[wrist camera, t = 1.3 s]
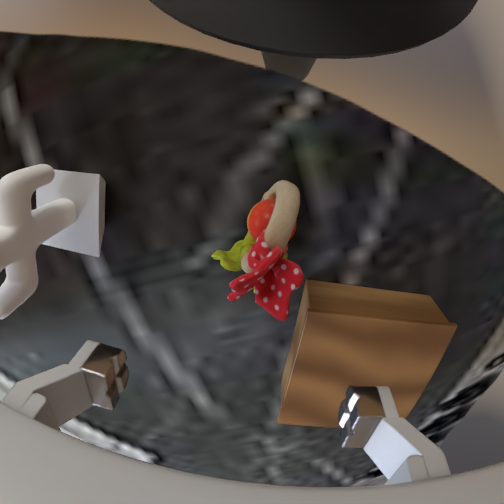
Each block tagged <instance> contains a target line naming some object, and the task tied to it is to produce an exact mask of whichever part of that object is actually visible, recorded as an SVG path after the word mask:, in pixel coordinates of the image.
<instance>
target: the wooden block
mask: <svg viewBox="0 0 504 504" xmlns="http://www.w3.org/2000/svg"><path fill="white" fill-rule="evenodd" d="M456 328H457V325H456V323H449V322H448V320H447V319H446V317H445V316H444V315H443V313H442V312H441V310H440V309H439V308H438V306H437V305H436V303H435V302H434V301H433V299H432V298H431V297H430V295H422V294H414V293H406V292H398V291H390V290H383V289H375V288H368V287H360V286H353V285H345V284H338V283H331V282H323V281H316V280H309V279H306V281H305V286H304V290H303V295H302V299H301V304H300V308H299V312H298V317H297V321H296V325H295V329H294V333H293V338H292V342H291V346H290V350H289V354H288V358H287V362H286V365H285V369H284V373H283V377H282V381H281V408H280V411H279V414H278V418H277V423H281V424H292V425H304V426H319V427H341V426H340V425H339V422H338V412H339V407H340V404H341V402H342V400H344V399H345V398H347V397H346V391H347V388H348V387H349V386H350V385H356V386H388V387H389V388H390V391H391V394H392V397H393V400H394V402H395V405H396V408H397V411H398V414H399V417H403V418H404V419H406V418H407V416H408V415H409V413H410V412H411V410H412V408H413V407H414V405H415V404H416V402H417V400H418V399H419V397H420V396H421V394H422V392H423V391H424V389H425V387H426V386H427V384H428V382H429V380H430V379H431V377H432V375H433V373H434V372H435V370H436V368H437V366H438V364H439V362H440V360H441V359H442V357H443V355H444V353H445V351H446V349H447V347H448V345H449V343H450V341H451V339H452V337H453V335H454V333H455V331H456Z"/></svg>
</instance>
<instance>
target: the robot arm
mask: <svg viewBox="0 0 504 504" xmlns="http://www.w3.org/2000/svg"><path fill="white" fill-rule="evenodd" d="M126 359H127V357H126V352H125V351H124V350H122V349H118V348H115V347H112V346H108V345H105V344H102V343H97V342H94V341H91V340H89V341H86V343H85V344H84V345H83V346H82V348H81V349H80V350H79V351H78V353H77V354H76V355H75V356H74V358H73V359H72V360H71V361H70V363H69V364H68V365H67V364H63V365H60V366H58V367H55V368H53V369H50V370H48V371H45V372H42V373H40V374H37V375H35V376H32V377H29V378H27V379H24V380H21V381H19V382H17V383H16V384H15V385H14V386H13V387H12V389H11V390H10V391H9V392H8V393H7V395H6V396H5V397H4V398H3V400H2V401H0V504H504V462H500V463H497V464H493V465H490V466H486V467H483V468H479V469H475V470H471V471H467V472H463V473H458V474H454V475H451V473H450V470H449V467H448V464H447V461H446V458H445V455H444V452H443V451H442V450H441V449H440V448H439V447H438V446H436V445H435V444H434V443H433V442H432V441H430V440H429V439H428V438H427V437H426V436H424V435H423V434H422V433H421V432H420V431H418V430H417V429H416V428H415V427H414V426H413V425H411V424H410V423H409V422H408V421H407V420H405V419H404V418H403V417H399V414H398V411H397V408H396V405H395V402H394V400H393V397H392V394H391V391H390V388H389V387H388V386H356V385H350V386H349V387H348V388H347V391H346V397H347V398H345V399H344V400H342V402H341V404H340V407H339V412H338V422H339V425H340V426H341V427H342V428H343V429H342V431H341V433H340V437H341V444H342V447H346V448H363V449H364V450H365V452H366V453H367V454H368V455H369V457H370V458H371V459H372V460H373V462H374V463H375V464H376V465H377V467H378V468H379V469H380V470H381V472H382V473H383V474H384V475H385V476H386V478H387V479H388V481H387V482H386V483H385V484H384V485H373V486H356V487H298V486H281V485H268V484H258V483H249V482H241V481H234V480H227V479H220V478H214V477H209V476H203V475H198V474H193V473H188V472H184V471H179V470H175V469H171V468H167V467H163V466H159V465H155V464H151V463H148V462H144V461H141V460H137V459H134V458H131V457H127V456H124V455H121V454H118V453H115V452H112V451H109V450H106V449H103V448H101V447H98V446H95V445H92V444H90V443H87V442H85V441H82V440H80V439H77V438H75V437H72V436H70V435H67V434H65V433H63V432H61V430H60V428H59V426H61V425H62V424H64V423H66V422H67V421H69V420H71V419H72V418H74V417H75V416H77V415H79V414H80V413H82V412H84V411H85V410H87V409H88V408H90V407H92V406H93V405H96V406H99V407H103V408H106V409H109V410H113V409H114V408H115V406H116V404H117V402H118V400H119V394H118V393H119V392H121V391H123V390H124V389H125V387H126V385H127V381H128V376H129V371H128V367H127V365H126V364H125V363H124V362H125V361H126Z"/></svg>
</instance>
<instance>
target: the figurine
mask: <svg viewBox="0 0 504 504" xmlns="http://www.w3.org/2000/svg"><path fill="white" fill-rule="evenodd" d="M105 185H106V181H105V180H104V179H103V178H102V177H101V176H100V174H91V173H81V172H71V171H61V170H53V168H52V167H51V166H49V165H46V164H39V165H35V166H31V167H27V168H24V169H21V170H17V171H14V172H12V173H9V174H7V175H6V176H4V177H3V178H2V179H1V180H0V272H1V271H2V269H4V268H5V269H6V274H7V277H6V279H5V281H4V283H3V284H2V285H1V287H0V319H4V318H6V317H7V316H8V315H10V314H11V313H12V312H13V311H14V310H15V309H16V308H18V307H19V306H20V305H21V304H22V303H23V302H24V301H26V300H27V299H28V298H29V297H30V296H31V295H32V294H33V293H34V291H35V290H36V288H37V285H38V273H37V266H36V258H35V254H36V250H37V248H38V246H39V245H40V244H45V245H49V246H53V247H57V248H61V249H66V250H70V251H74V252H78V253H83V254H87V255H91V256H96V257H99V256H100V250H101V244H102V238H103V232H104V227H105ZM35 190H36V202H37V209H34V210H32V211H31V196H32V194H33V192H34V191H35Z"/></svg>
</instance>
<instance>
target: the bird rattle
mask: <svg viewBox="0 0 504 504" xmlns="http://www.w3.org/2000/svg"><path fill="white" fill-rule="evenodd" d="M299 206H300V193H299V189H298V188H297V187H296V186H295V185H294V184H292V183H290V182H288V181H284V180H282V181H278V182H277V183H275V184H274V185H273V186H272V187H271V188H270V190H269V191H268V192H266V193H265V194H264V195H263V198H262V201H260V202H258V203H257V204H256V205H255V206H254V207H253V208H252V209H251V211H250V213H249V215H248V219H247V227H248V233H247V235H246V236H245V238H244V240H240V241H238V242H236V243H235V244H234V246H233V247H232V249H231V250H230V251H221V250H217V251H216V252H215V253H213V254H212V256H211V257H213V259H216V260H220V264H221V265H222V266H223V267H224V268H225V269H227V270H230V271H240V270H242V269H243V271H244V272H246V273H247V274H244V275H241V276H239V277H237V278H236V279H234V280H233V281H232V282H231V283H230V284H229V286H230V288H231V289H232V292H231V293H229V295H228V297H227V298H228V299H229V300H230V301H235V300H237V299H239V298H240V297H242V296H243V295H244V294H246V293H247V292H248V291H250V290H251V289H252V288H254V290H253V291H254V293H255V302H256V303H257V304H259V305H260V306H262V307H263V308H265V309H266V310H267V311H268V312H269V313H270V314H271V315H273V316H274V317H275V318H277V319H278V320H281V321H284V320H286V319H287V318H288V313H289V304H290V295H291V293H292V292H293V291H294V290H295V289H297V288H299V287H300V286H301V285H302V283H303V281H304V274H303V272H302V271H301V268H300V266H299V265H298V264H296V263H295V262H292V261H290V260H287V256H288V255H287V249H288V244H287V243H288V241H289V240H290V239H291V238H292V236H293V235H294V233H295V230H296V219H297V216H298V211H299Z"/></svg>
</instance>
